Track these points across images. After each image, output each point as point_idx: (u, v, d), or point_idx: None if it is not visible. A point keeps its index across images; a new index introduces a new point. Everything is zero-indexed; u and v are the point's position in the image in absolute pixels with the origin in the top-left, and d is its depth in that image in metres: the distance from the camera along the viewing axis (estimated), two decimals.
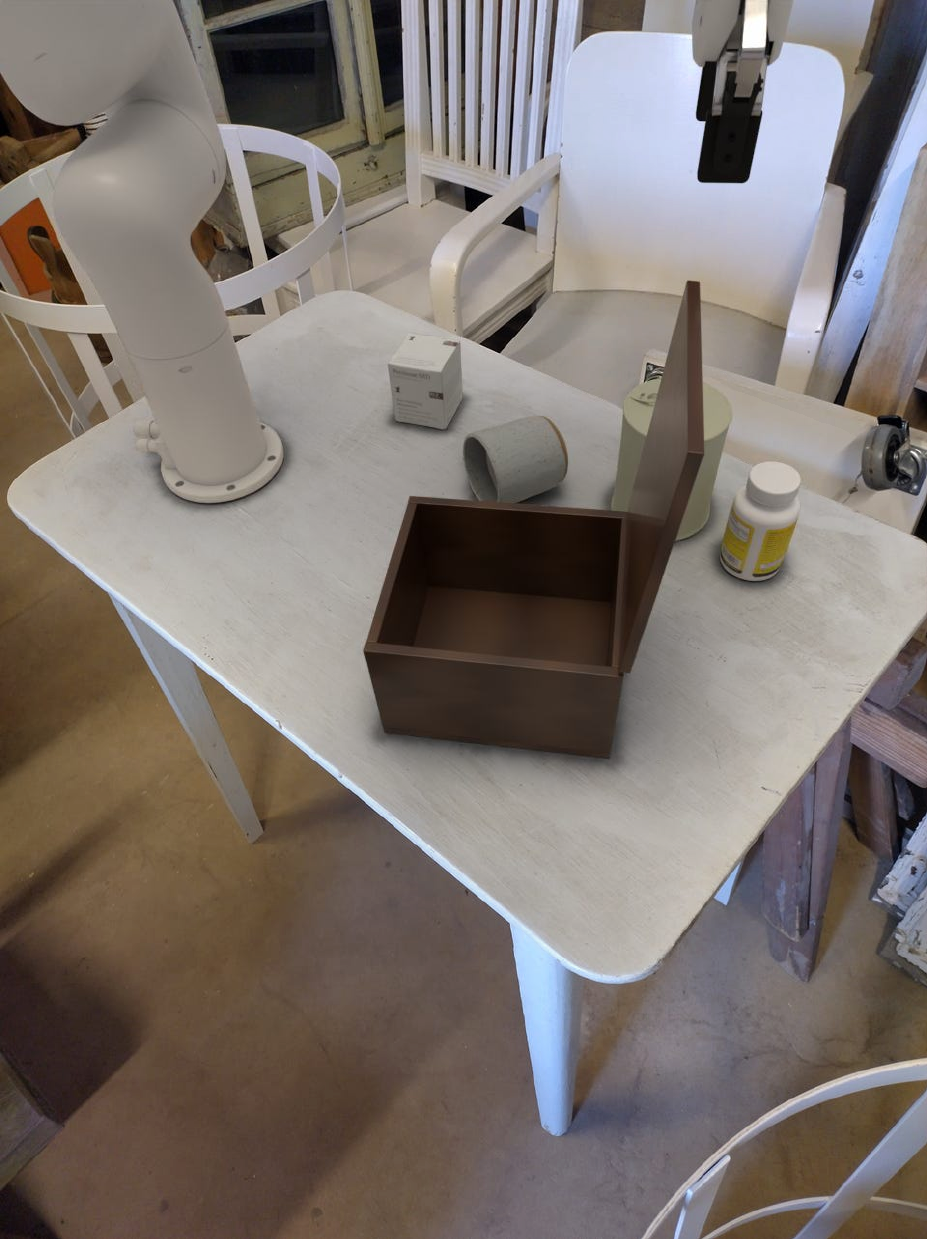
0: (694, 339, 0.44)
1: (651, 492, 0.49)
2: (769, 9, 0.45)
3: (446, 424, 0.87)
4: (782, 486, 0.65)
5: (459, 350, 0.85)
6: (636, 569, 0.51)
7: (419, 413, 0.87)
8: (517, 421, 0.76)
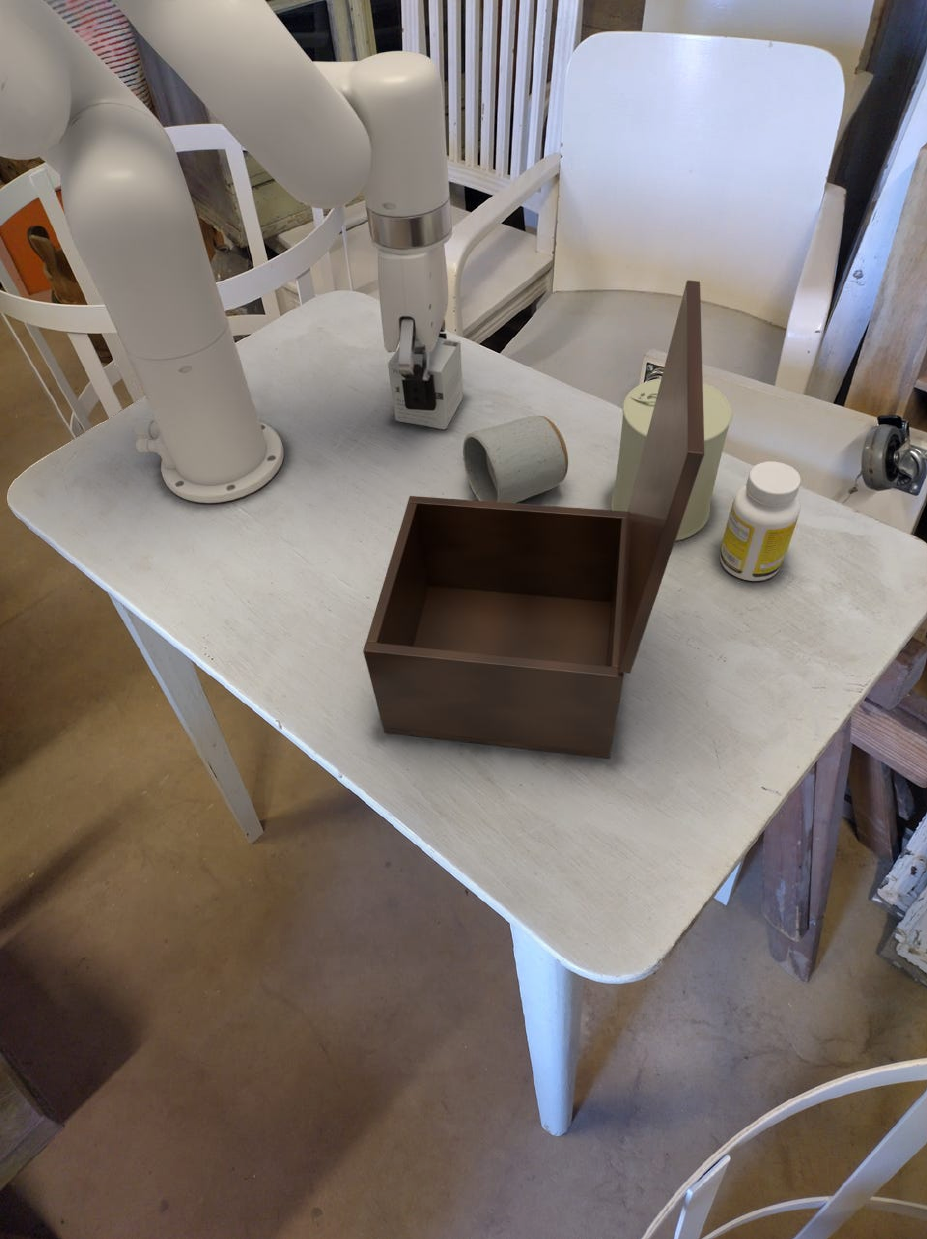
0: (694, 339, 0.44)
1: (651, 492, 0.49)
2: (416, 330, 0.76)
3: (446, 424, 0.87)
4: (782, 485, 0.65)
5: (459, 350, 0.85)
6: (636, 569, 0.51)
7: (419, 413, 0.87)
8: (517, 421, 0.76)
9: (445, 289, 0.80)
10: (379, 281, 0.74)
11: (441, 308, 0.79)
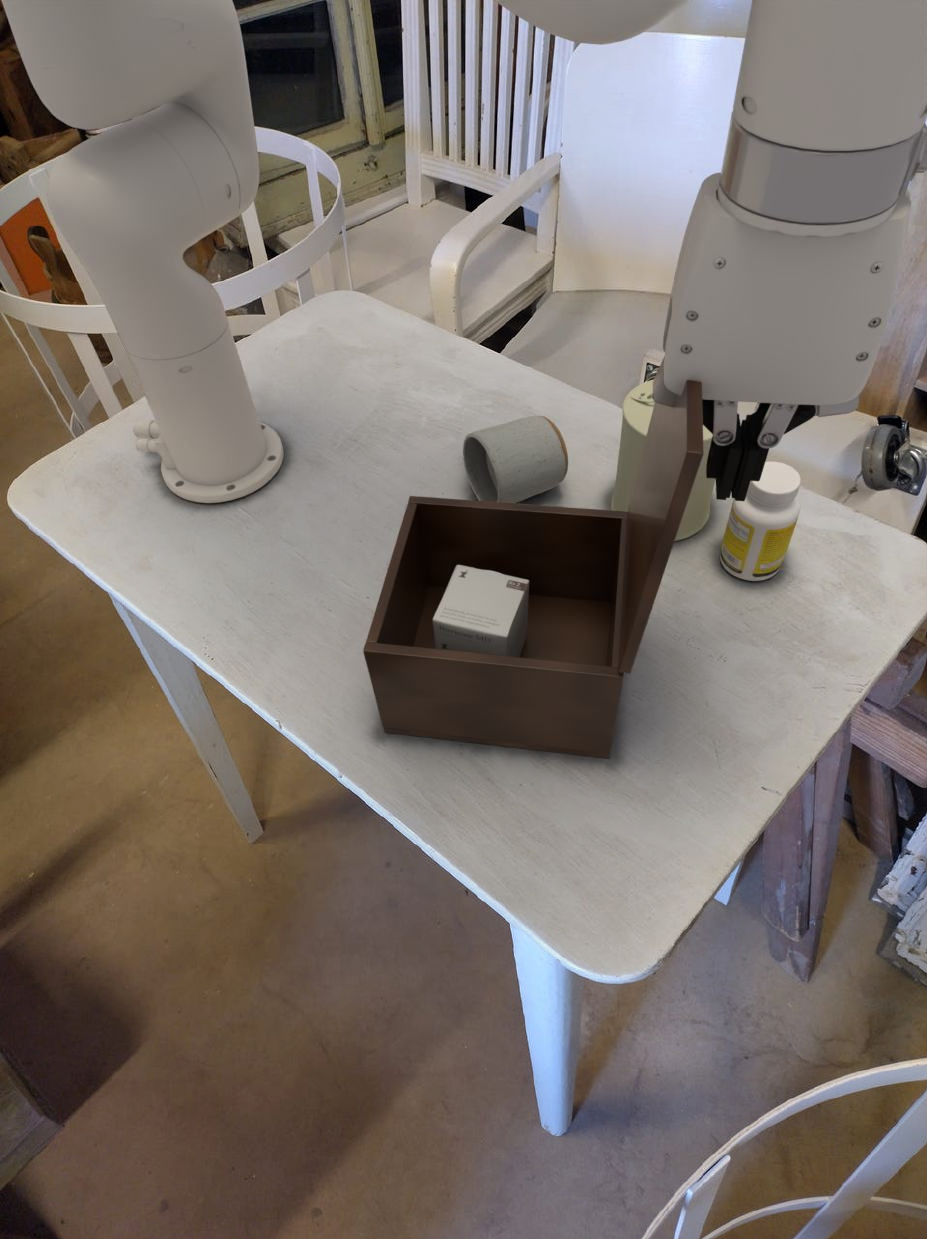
0: None
1: (651, 492, 0.49)
2: (667, 336, 0.41)
3: None
4: (782, 486, 0.65)
5: (527, 591, 0.63)
6: (636, 569, 0.51)
7: None
8: (517, 421, 0.76)
9: (816, 355, 0.39)
10: None
11: (759, 363, 0.40)
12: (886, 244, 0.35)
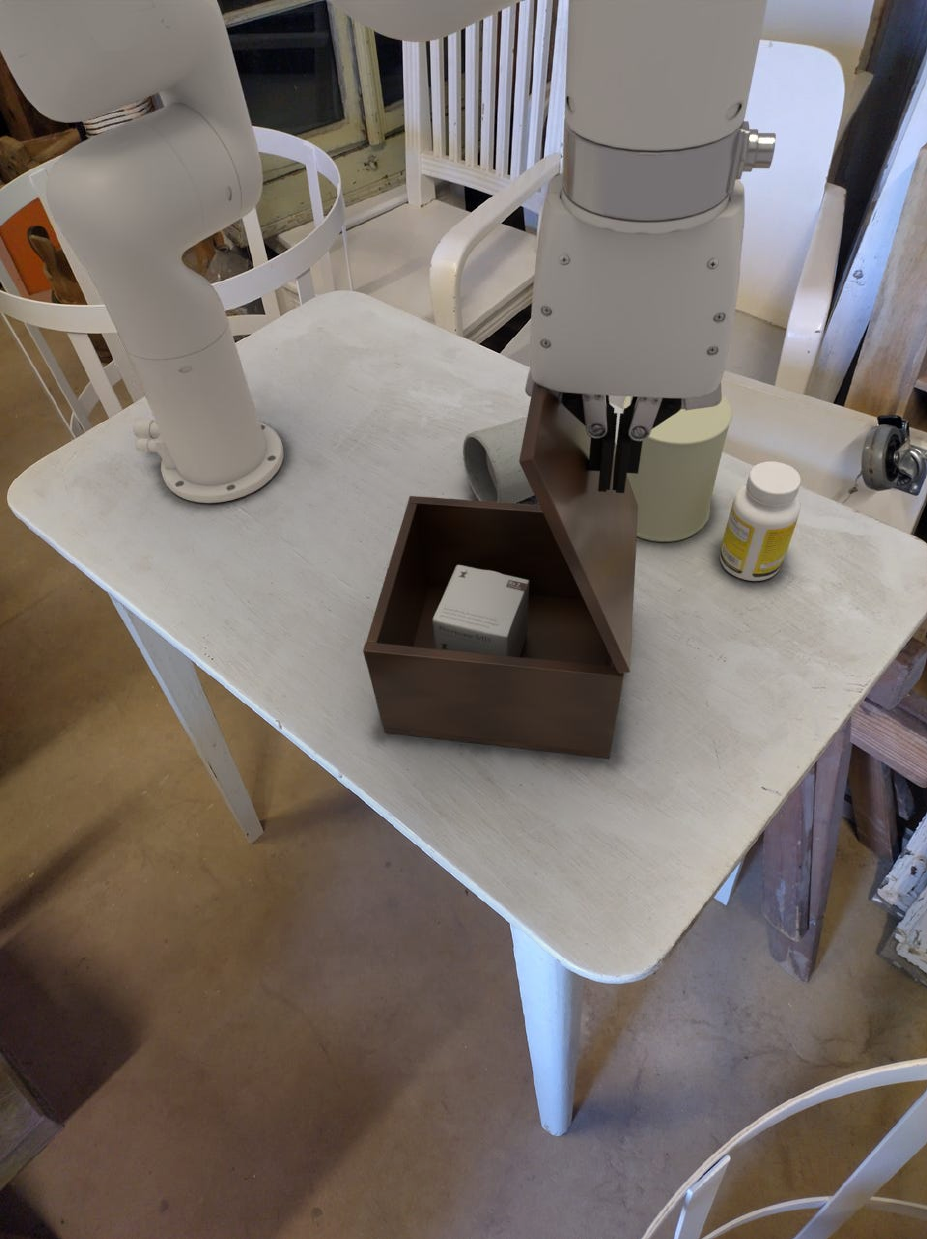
0: None
1: None
2: (530, 331, 0.42)
3: None
4: (782, 485, 0.65)
5: (527, 591, 0.63)
6: None
7: None
8: (517, 421, 0.76)
9: (668, 349, 0.40)
10: None
11: (615, 357, 0.41)
12: (719, 240, 0.36)
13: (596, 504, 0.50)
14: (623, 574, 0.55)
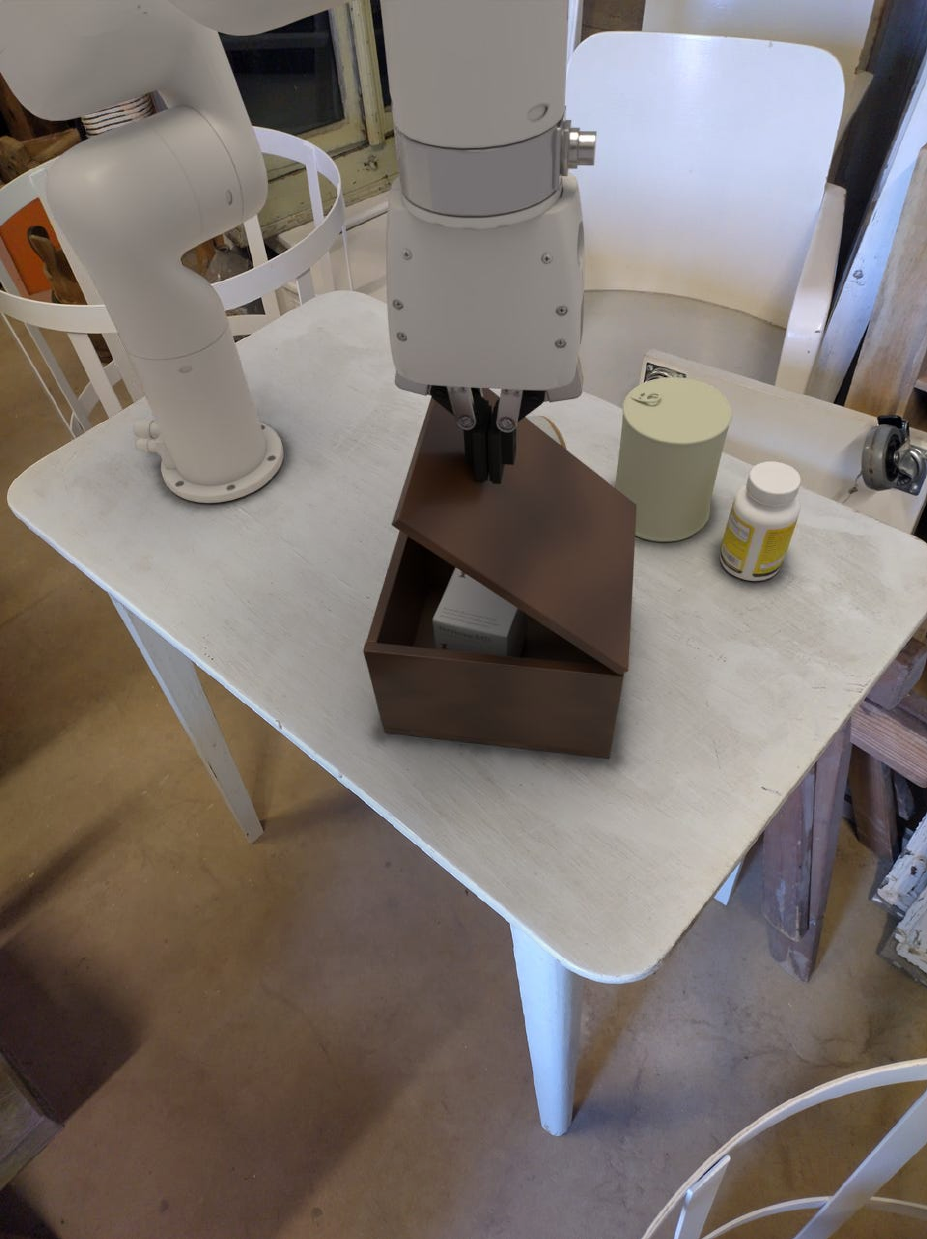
0: (427, 416, 0.51)
1: None
2: None
3: None
4: (782, 485, 0.65)
5: None
6: None
7: None
8: None
9: (517, 342, 0.41)
10: None
11: (469, 349, 0.42)
12: (549, 236, 0.37)
13: (535, 526, 0.53)
14: (604, 578, 0.55)
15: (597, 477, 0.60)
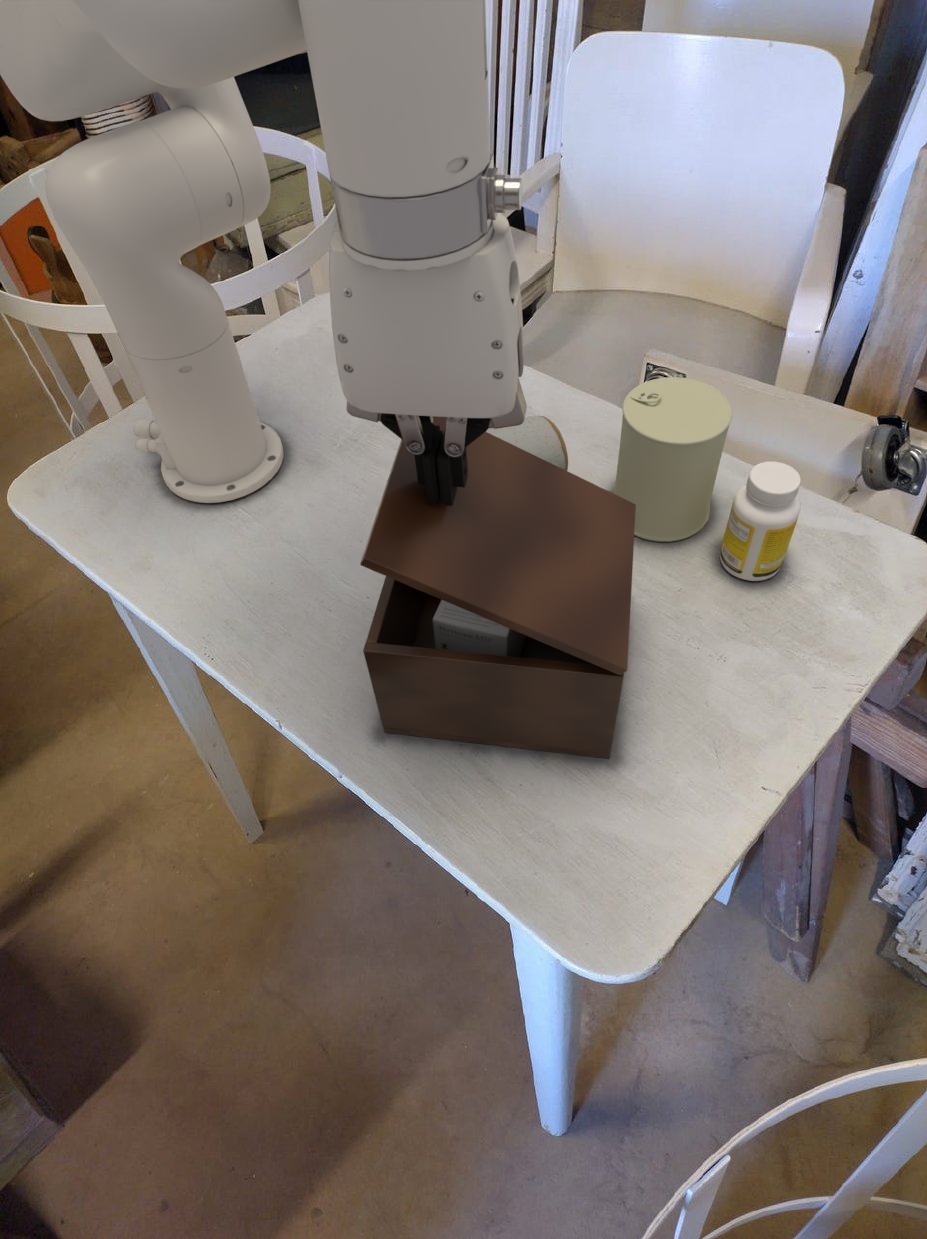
0: (395, 457, 0.54)
1: None
2: None
3: None
4: (782, 485, 0.65)
5: None
6: None
7: None
8: None
9: (457, 373, 0.43)
10: None
11: (412, 380, 0.44)
12: (480, 276, 0.39)
13: (516, 543, 0.54)
14: (597, 582, 0.56)
15: (588, 484, 0.61)
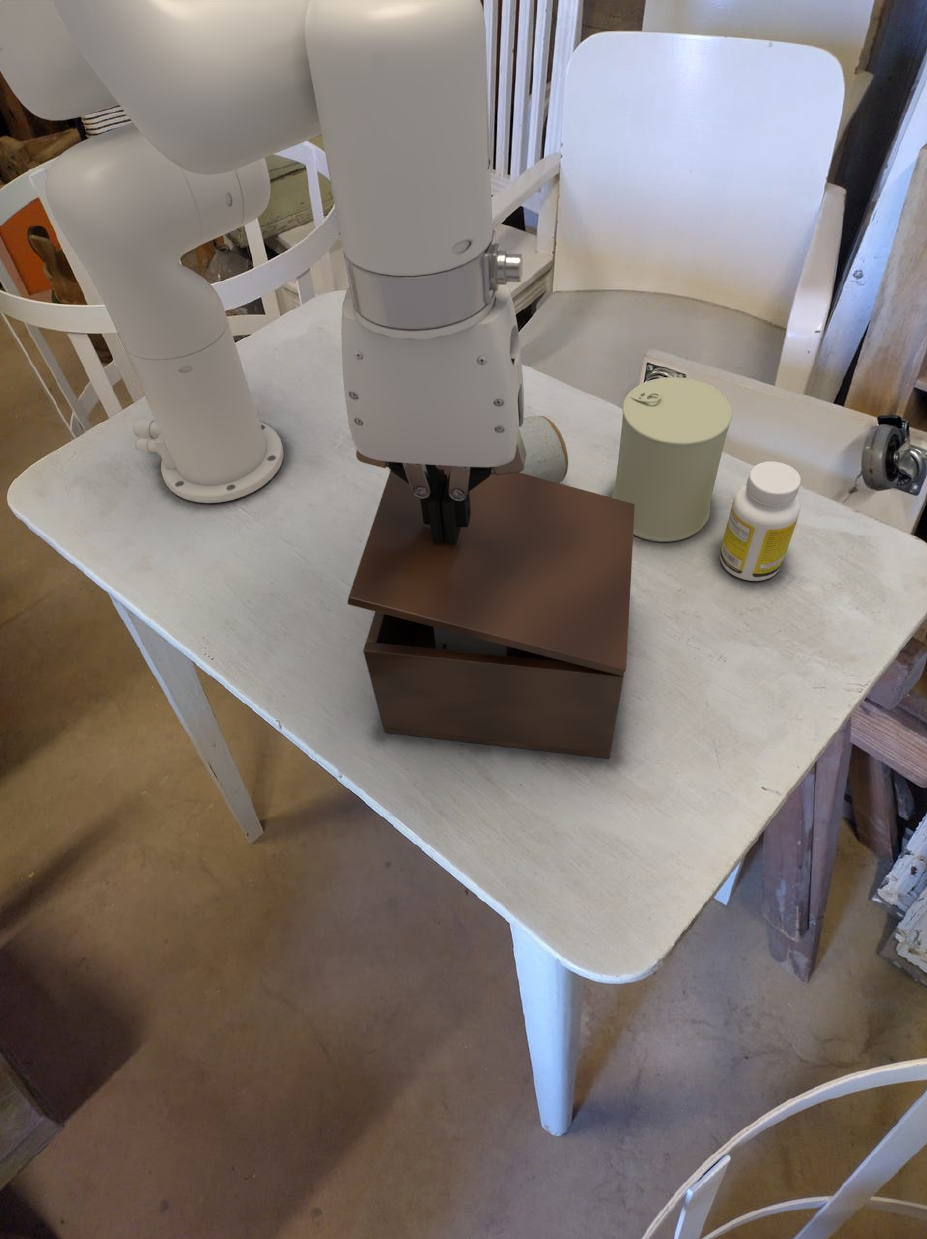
0: None
1: None
2: None
3: None
4: (782, 485, 0.65)
5: None
6: None
7: None
8: None
9: (461, 428, 0.46)
10: None
11: (418, 433, 0.47)
12: (483, 342, 0.42)
13: (504, 561, 0.56)
14: (592, 587, 0.56)
15: (581, 492, 0.61)
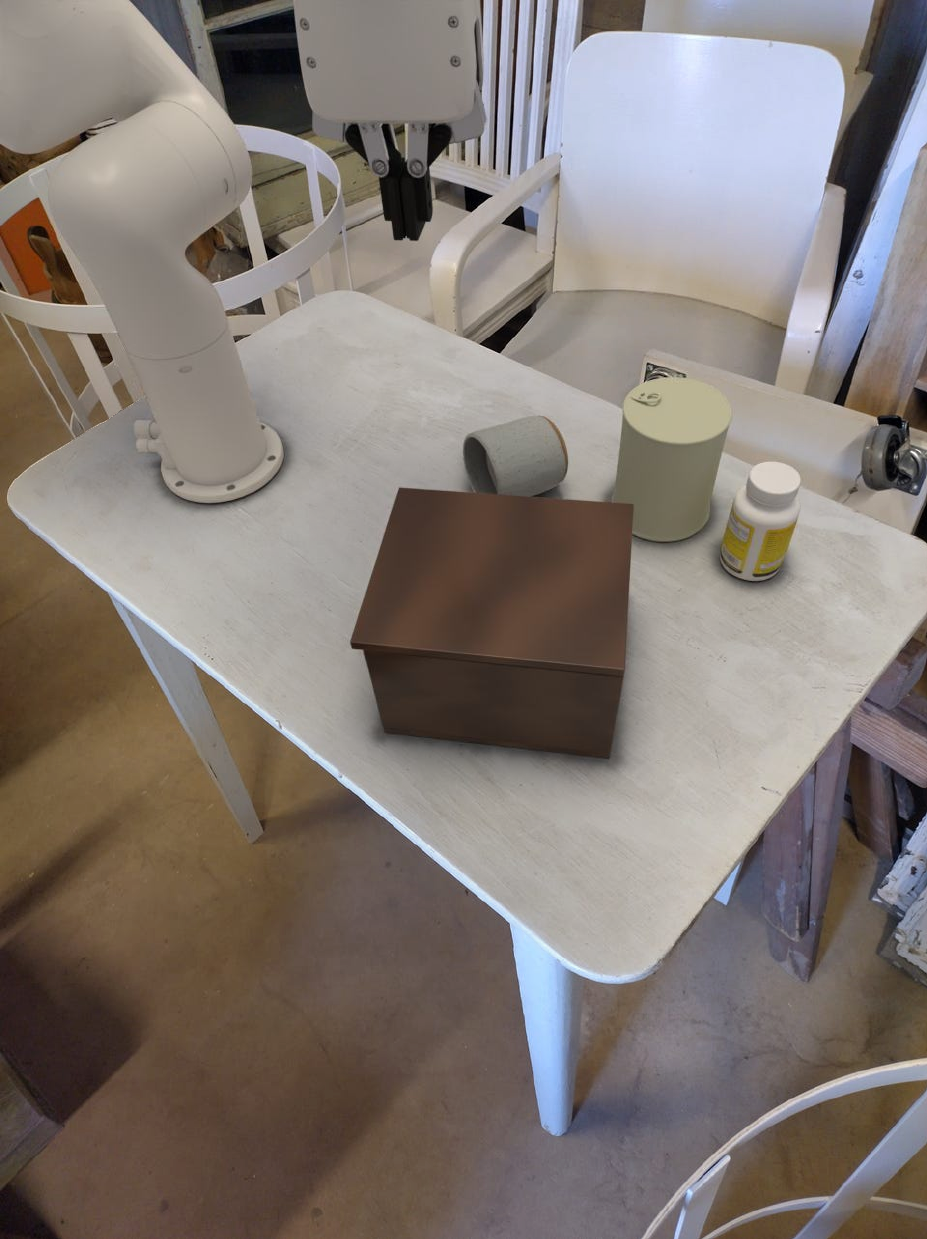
0: None
1: None
2: None
3: None
4: (782, 486, 0.65)
5: None
6: None
7: None
8: (517, 421, 0.76)
9: (415, 60, 0.45)
10: None
11: (372, 72, 0.46)
12: None
13: (498, 583, 0.58)
14: (589, 593, 0.57)
15: (577, 503, 0.62)
